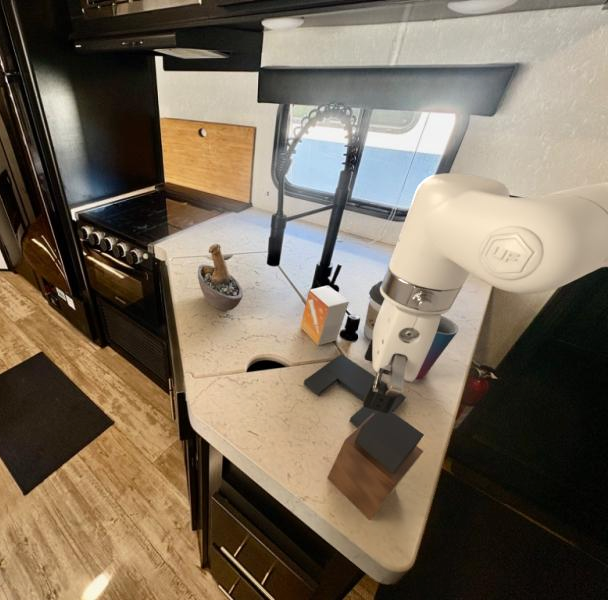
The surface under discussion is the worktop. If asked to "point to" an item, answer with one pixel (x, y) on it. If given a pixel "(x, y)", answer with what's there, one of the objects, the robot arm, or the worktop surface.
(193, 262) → the worktop surface
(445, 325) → the cup
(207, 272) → the planter
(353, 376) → the black u-shaped block
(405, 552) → the worktop surface
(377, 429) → the black squat block
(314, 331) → the small box
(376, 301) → the coffee cup
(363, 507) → the brown wooden block
